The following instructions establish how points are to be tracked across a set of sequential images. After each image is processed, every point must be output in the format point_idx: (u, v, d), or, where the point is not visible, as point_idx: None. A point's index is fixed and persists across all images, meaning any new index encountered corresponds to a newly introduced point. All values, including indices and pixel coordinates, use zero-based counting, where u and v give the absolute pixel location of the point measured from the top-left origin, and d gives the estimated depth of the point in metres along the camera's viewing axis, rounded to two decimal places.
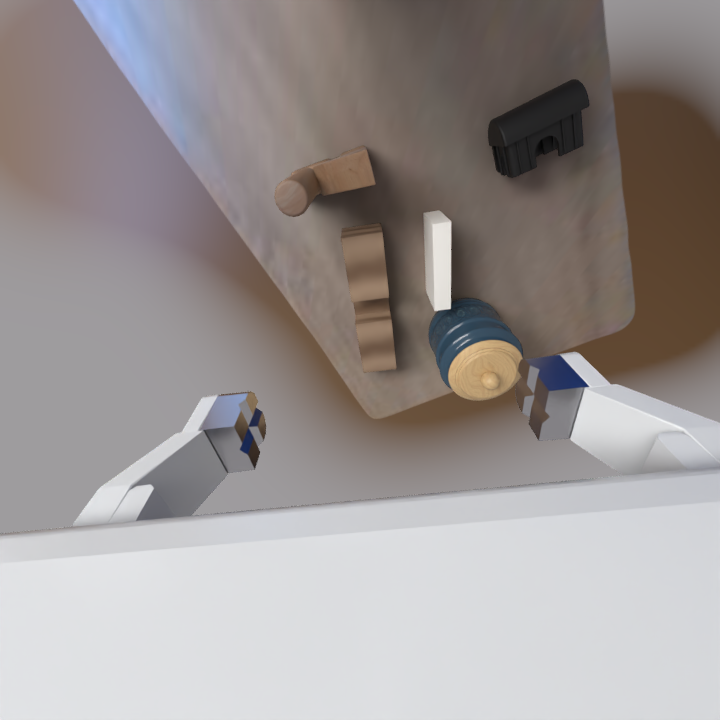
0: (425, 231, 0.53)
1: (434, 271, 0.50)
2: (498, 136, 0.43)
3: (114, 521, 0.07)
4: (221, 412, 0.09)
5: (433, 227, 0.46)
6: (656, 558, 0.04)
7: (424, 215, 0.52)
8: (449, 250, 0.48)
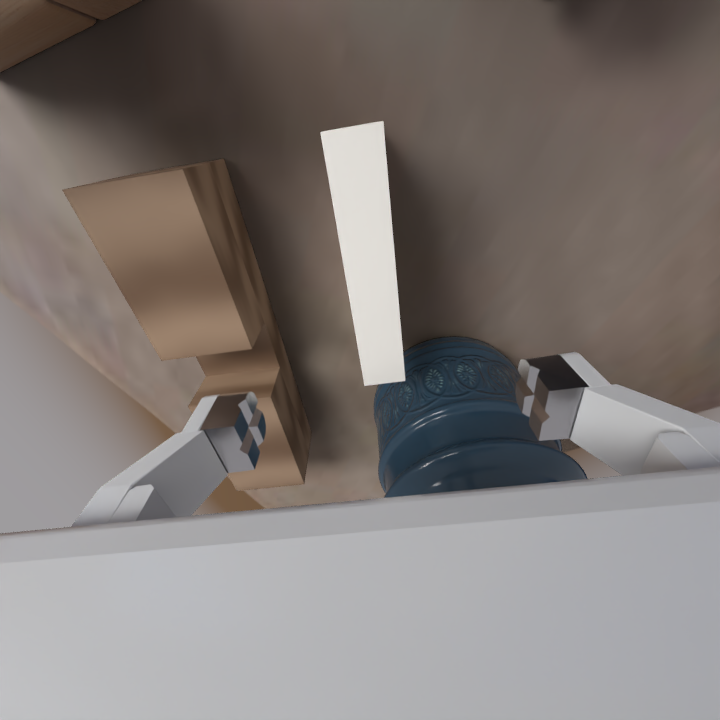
0: None
1: (350, 288, 0.17)
2: None
3: (114, 521, 0.07)
4: (221, 412, 0.09)
5: (325, 144, 0.14)
6: (656, 558, 0.04)
7: None
8: (387, 225, 0.15)
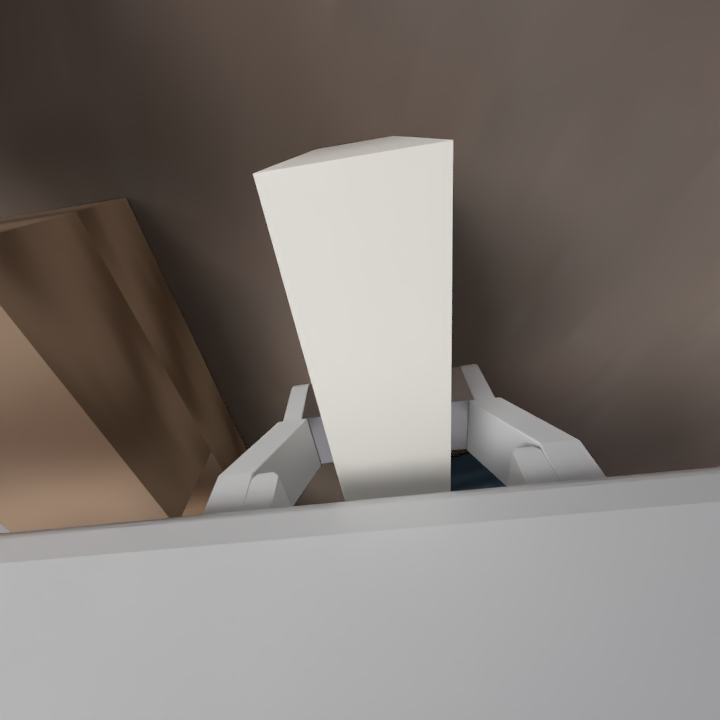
0: None
1: (348, 490, 0.08)
2: None
3: (247, 509, 0.07)
4: None
5: (272, 209, 0.05)
6: (656, 558, 0.04)
7: None
8: (438, 390, 0.06)
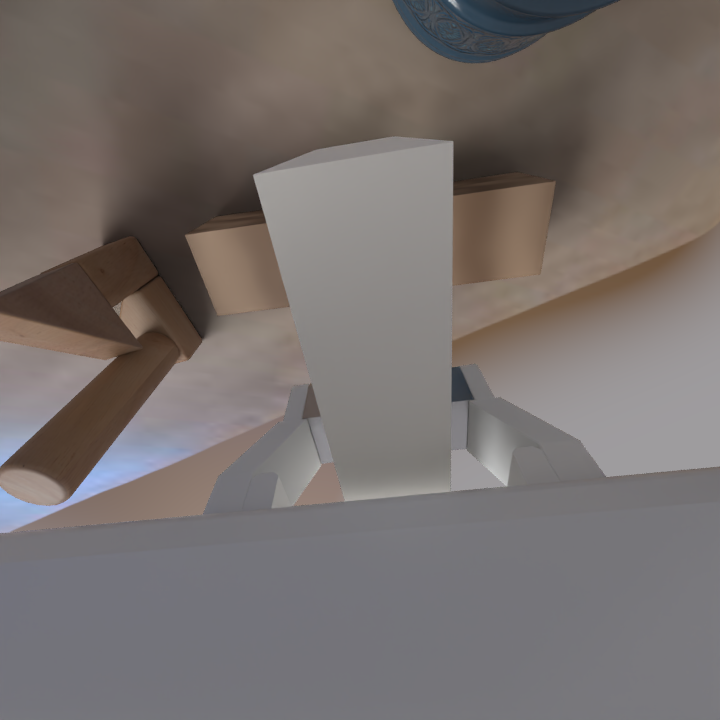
0: None
1: (348, 490, 0.08)
2: None
3: (247, 509, 0.07)
4: None
5: (272, 210, 0.05)
6: (656, 558, 0.04)
7: None
8: (438, 391, 0.06)
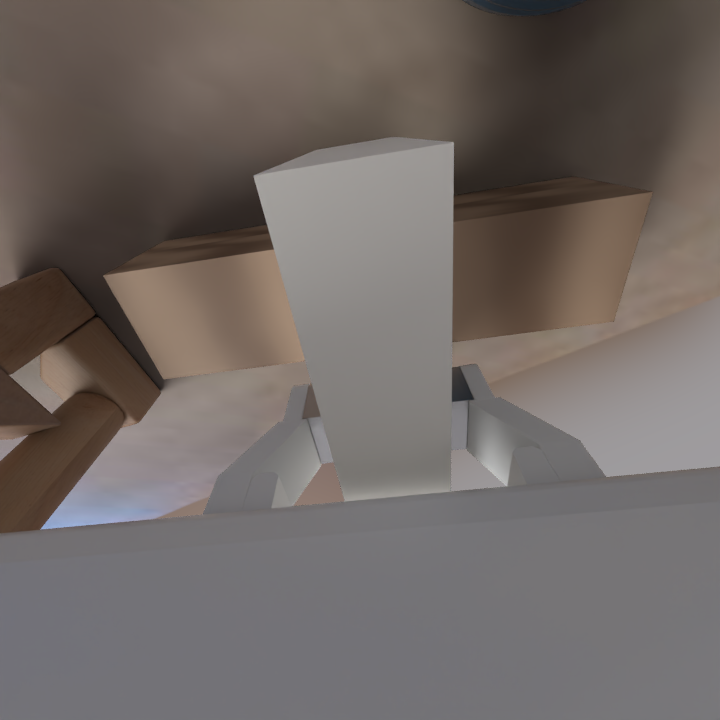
0: None
1: (348, 491, 0.08)
2: None
3: (248, 509, 0.07)
4: None
5: (272, 211, 0.05)
6: (656, 558, 0.04)
7: None
8: (439, 392, 0.06)
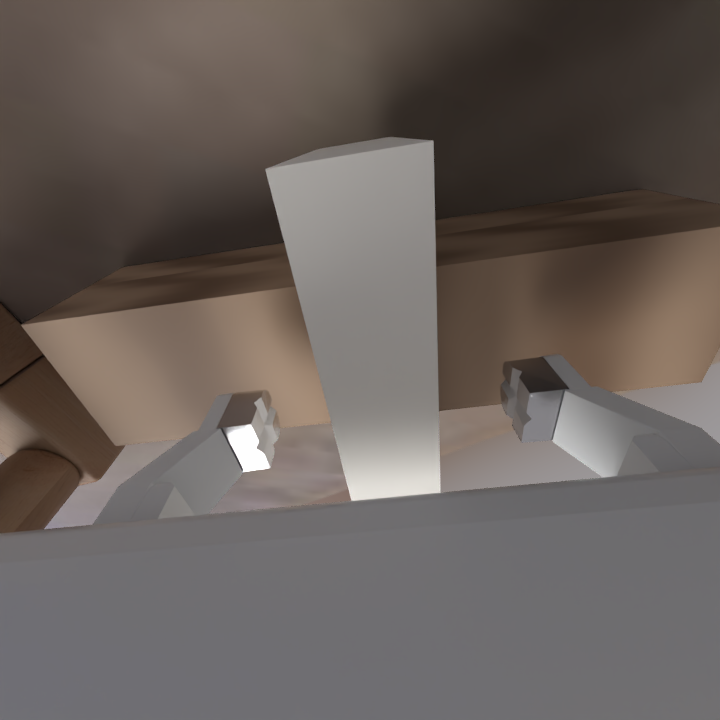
0: None
1: (346, 459, 0.09)
2: None
3: (136, 519, 0.07)
4: (237, 410, 0.09)
5: (281, 199, 0.05)
6: (656, 558, 0.04)
7: None
8: (426, 363, 0.07)
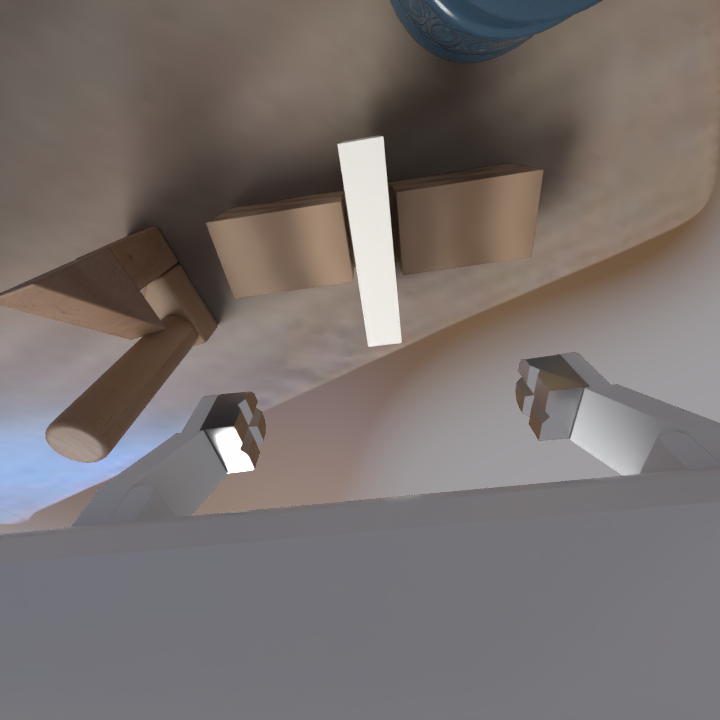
0: None
1: (357, 263, 0.22)
2: None
3: (114, 521, 0.07)
4: (221, 412, 0.09)
5: (341, 153, 0.19)
6: (656, 558, 0.04)
7: None
8: (386, 213, 0.20)
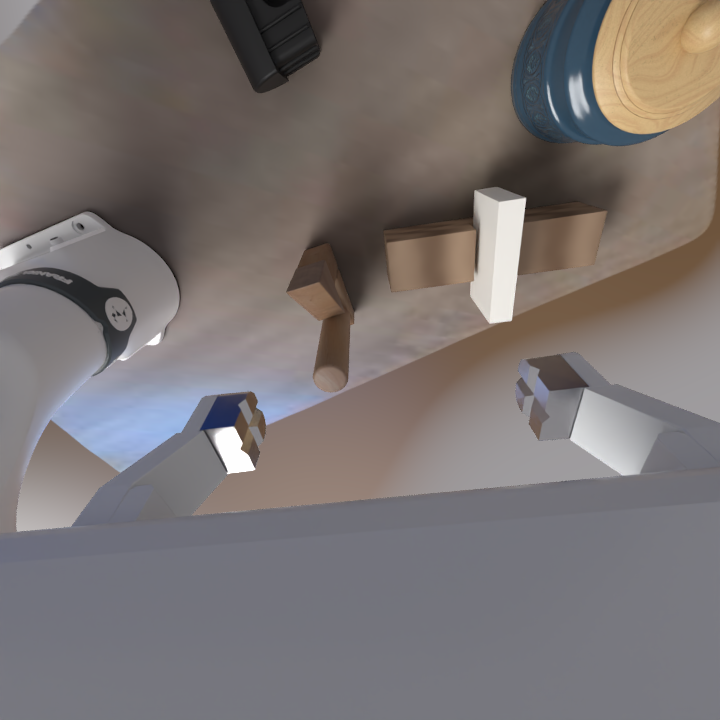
0: (477, 215, 0.39)
1: (494, 269, 0.36)
2: (270, 81, 0.31)
3: (114, 521, 0.07)
4: (221, 412, 0.09)
5: (499, 206, 0.32)
6: (656, 558, 0.04)
7: (477, 193, 0.38)
8: (518, 240, 0.34)
